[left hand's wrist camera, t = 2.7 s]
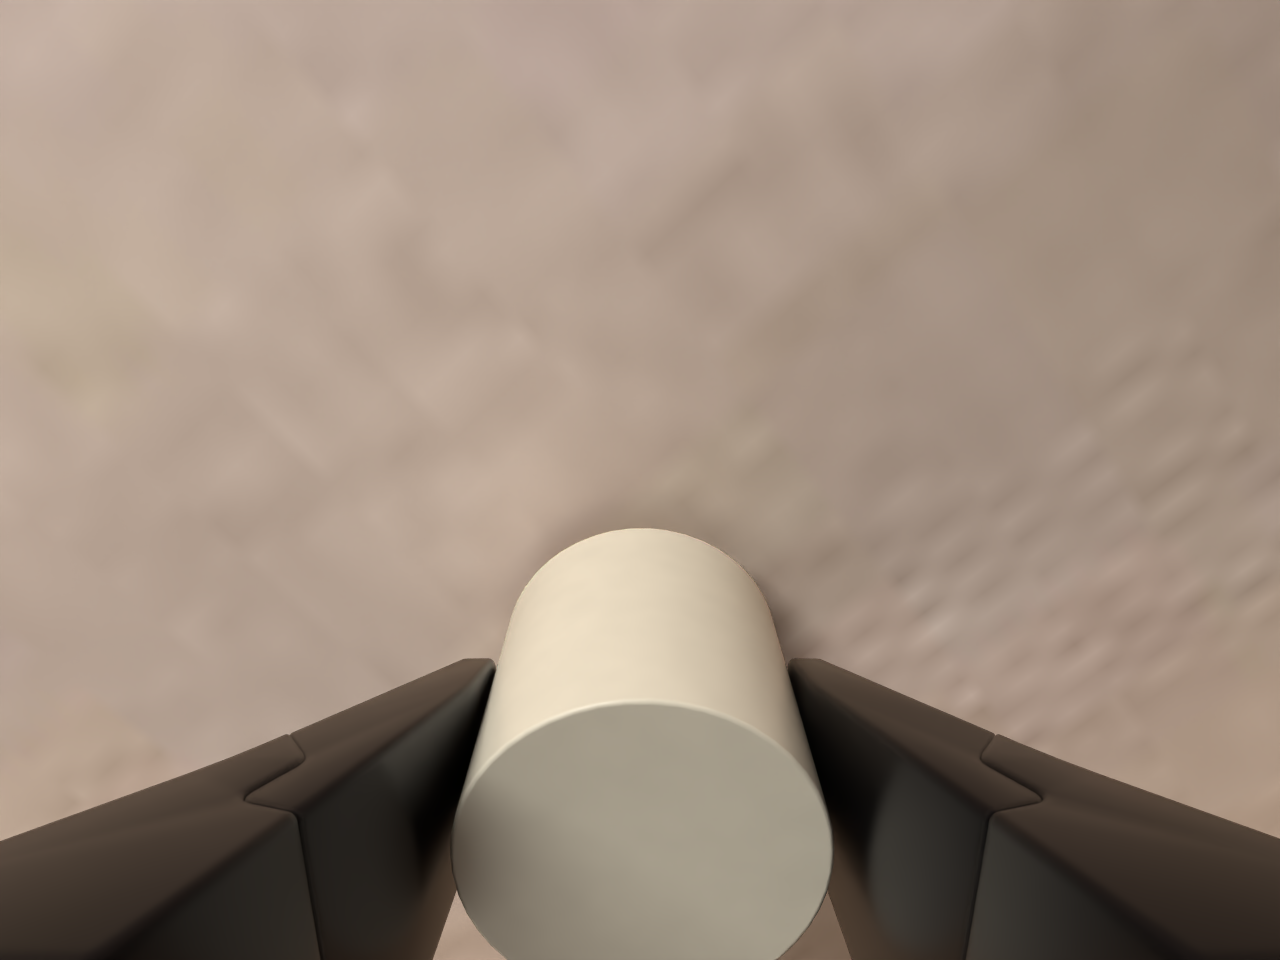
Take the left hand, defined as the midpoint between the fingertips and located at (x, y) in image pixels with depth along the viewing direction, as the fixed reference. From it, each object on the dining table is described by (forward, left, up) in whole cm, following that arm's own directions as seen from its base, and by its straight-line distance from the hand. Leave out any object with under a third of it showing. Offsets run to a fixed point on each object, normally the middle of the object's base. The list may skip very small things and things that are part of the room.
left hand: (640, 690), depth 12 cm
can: (0, 0, -1) cm, 1 cm away
